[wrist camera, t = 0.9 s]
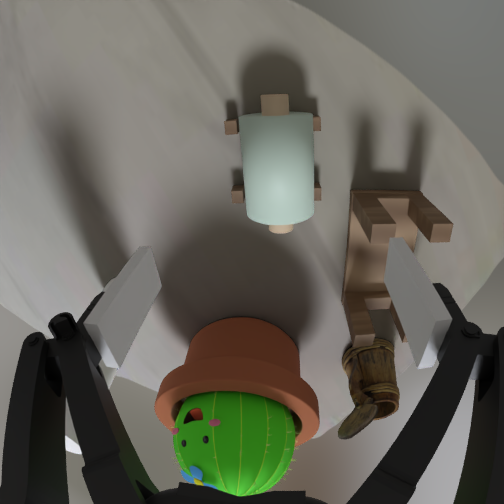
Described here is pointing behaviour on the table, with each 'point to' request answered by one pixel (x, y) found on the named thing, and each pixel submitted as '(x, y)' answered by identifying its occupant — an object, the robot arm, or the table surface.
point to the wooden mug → (370, 385)
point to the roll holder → (382, 251)
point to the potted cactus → (238, 406)
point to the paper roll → (278, 164)
